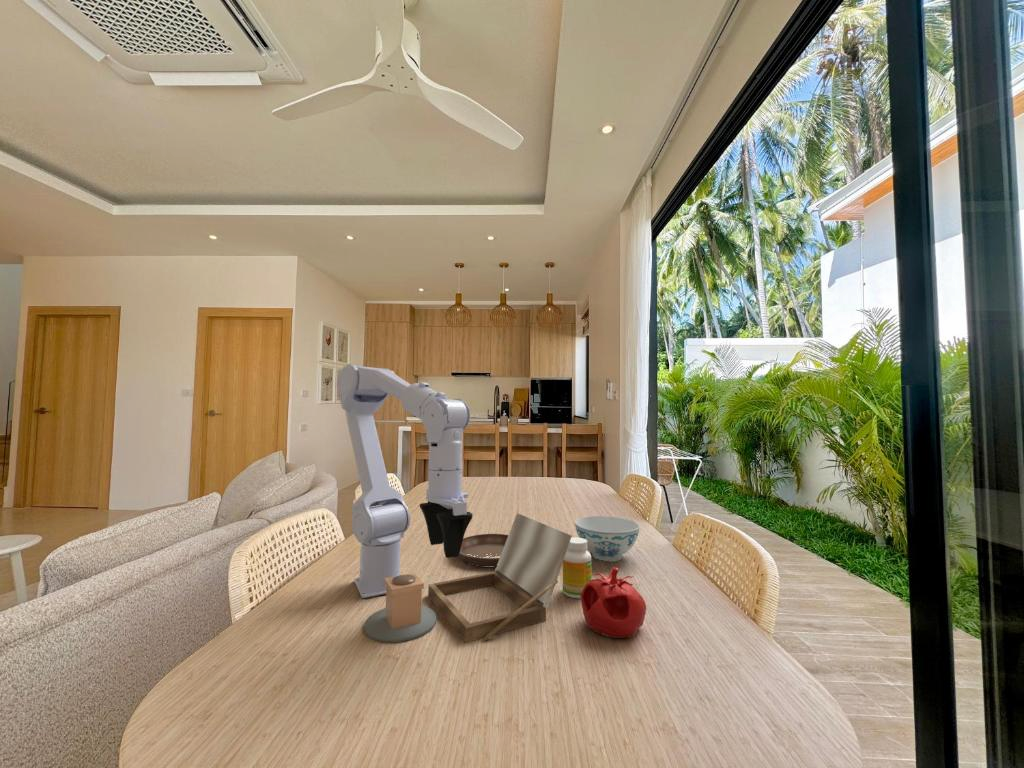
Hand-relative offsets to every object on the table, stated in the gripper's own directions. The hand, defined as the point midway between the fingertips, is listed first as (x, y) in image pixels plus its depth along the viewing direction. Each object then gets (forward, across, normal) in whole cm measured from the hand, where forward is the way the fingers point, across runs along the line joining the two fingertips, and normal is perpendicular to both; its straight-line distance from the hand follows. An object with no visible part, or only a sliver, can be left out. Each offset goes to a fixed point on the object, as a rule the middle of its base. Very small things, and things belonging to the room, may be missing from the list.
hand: (444, 550), depth 71 cm
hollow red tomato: (+11, -17, -22) cm, 30 cm away
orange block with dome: (+10, 0, +7) cm, 12 cm away
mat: (+10, 0, +7) cm, 13 cm away
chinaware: (+11, +9, -44) cm, 46 cm away
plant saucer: (+11, +22, -20) cm, 32 cm away
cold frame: (+10, -2, -10) cm, 14 cm away
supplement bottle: (+11, -4, -25) cm, 27 cm away
